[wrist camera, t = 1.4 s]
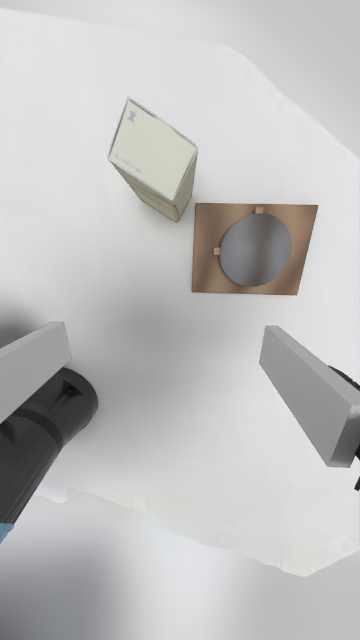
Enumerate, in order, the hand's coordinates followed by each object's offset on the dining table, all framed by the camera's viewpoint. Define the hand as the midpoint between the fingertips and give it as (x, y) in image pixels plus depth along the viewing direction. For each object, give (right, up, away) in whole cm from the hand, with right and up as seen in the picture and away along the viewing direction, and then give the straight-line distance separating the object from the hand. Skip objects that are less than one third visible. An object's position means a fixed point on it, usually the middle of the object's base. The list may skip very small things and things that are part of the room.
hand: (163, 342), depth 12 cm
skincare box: (-1, +19, +14) cm, 23 cm away
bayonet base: (+11, +12, +15) cm, 22 cm away
